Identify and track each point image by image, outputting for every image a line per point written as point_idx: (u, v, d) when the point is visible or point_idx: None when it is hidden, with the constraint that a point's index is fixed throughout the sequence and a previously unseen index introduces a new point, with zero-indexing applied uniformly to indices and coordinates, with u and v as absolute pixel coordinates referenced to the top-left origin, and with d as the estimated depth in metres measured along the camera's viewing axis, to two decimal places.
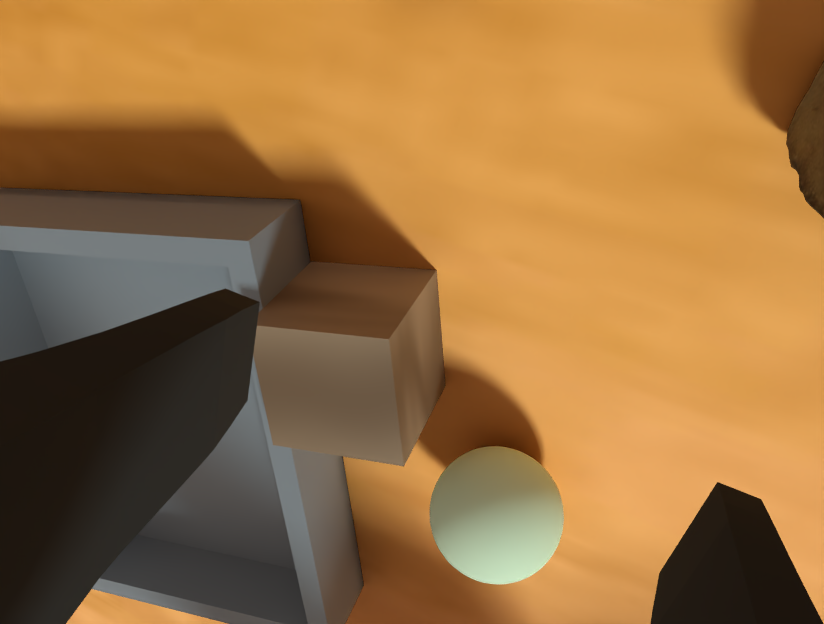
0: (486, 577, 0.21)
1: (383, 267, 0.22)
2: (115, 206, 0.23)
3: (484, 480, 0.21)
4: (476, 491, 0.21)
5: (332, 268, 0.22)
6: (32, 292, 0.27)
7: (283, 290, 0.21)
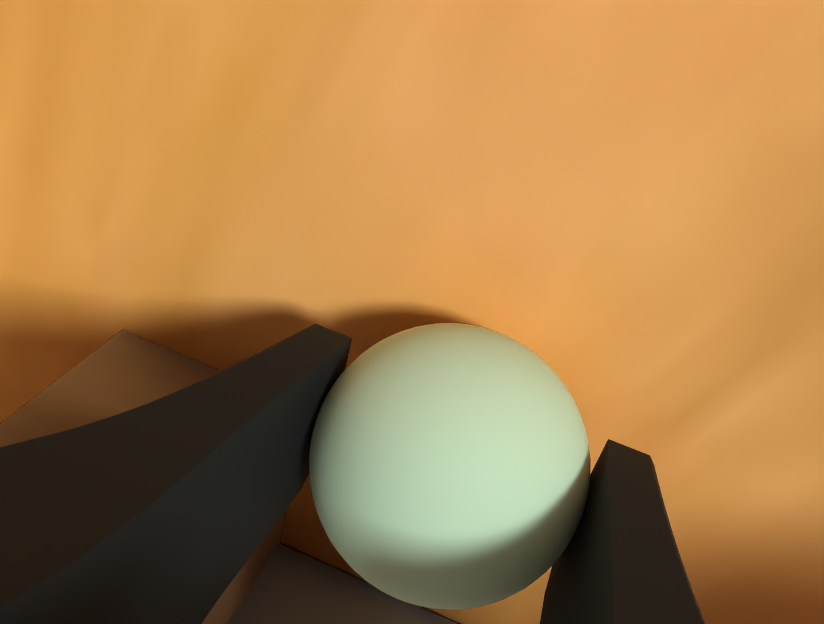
0: (453, 571, 0.09)
1: None
2: None
3: None
4: (309, 472, 0.10)
5: None
6: None
7: None
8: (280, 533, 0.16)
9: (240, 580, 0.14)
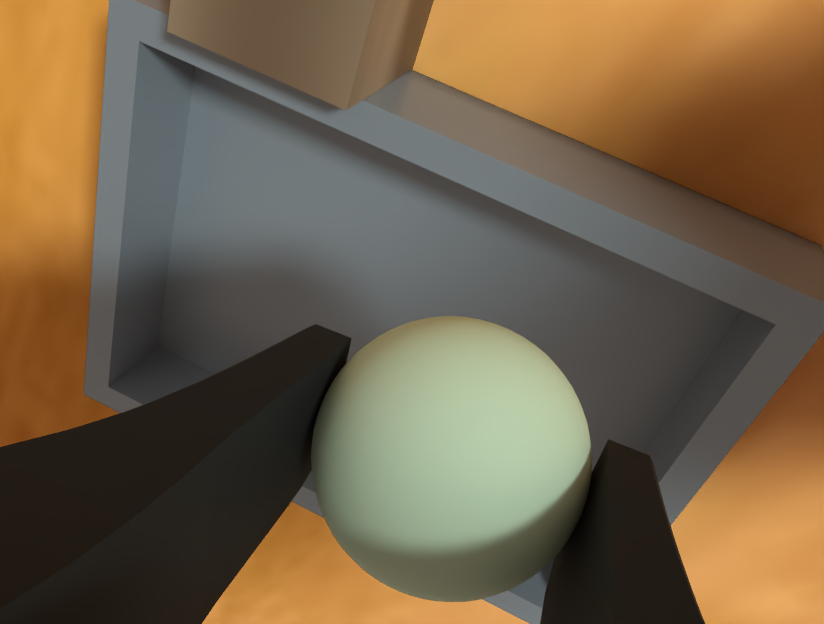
0: (460, 562, 0.09)
1: None
2: None
3: (312, 444, 0.11)
4: (312, 470, 0.10)
5: None
6: None
7: None
8: (416, 53, 0.17)
9: (396, 43, 0.16)
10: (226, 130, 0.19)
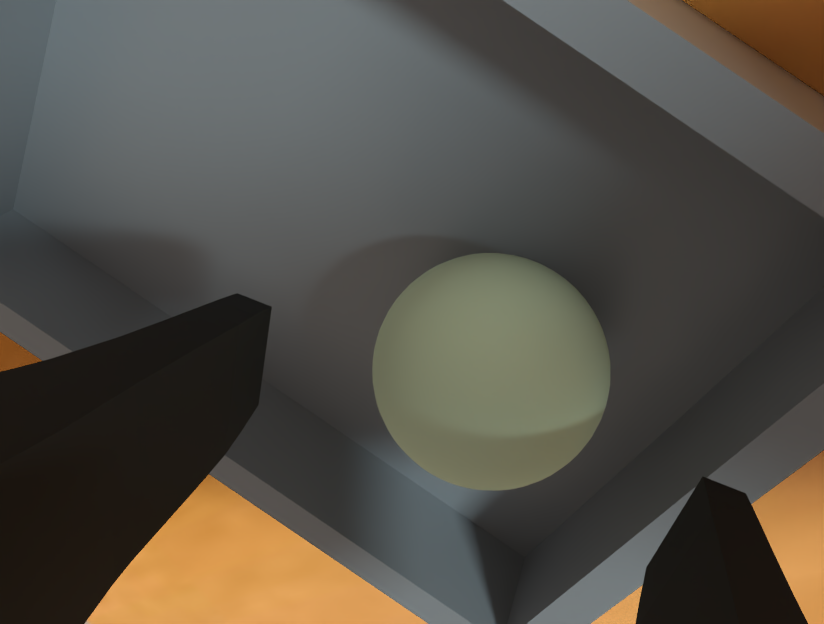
0: (504, 446, 0.11)
1: None
2: None
3: (373, 361, 0.13)
4: (373, 381, 0.12)
5: None
6: (117, 271, 0.17)
7: None
8: None
9: None
10: None
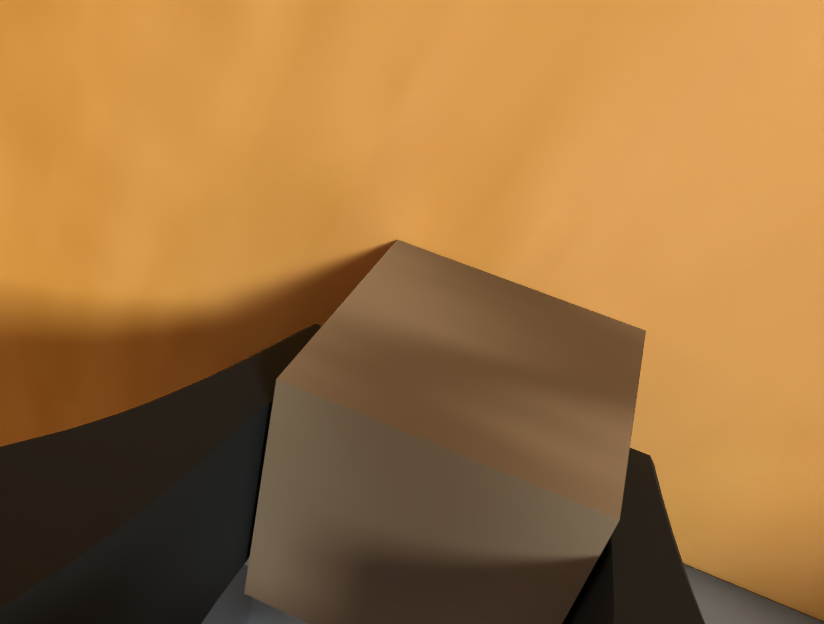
0: None
1: None
2: None
3: None
4: None
5: None
6: None
7: None
8: None
9: None
10: None
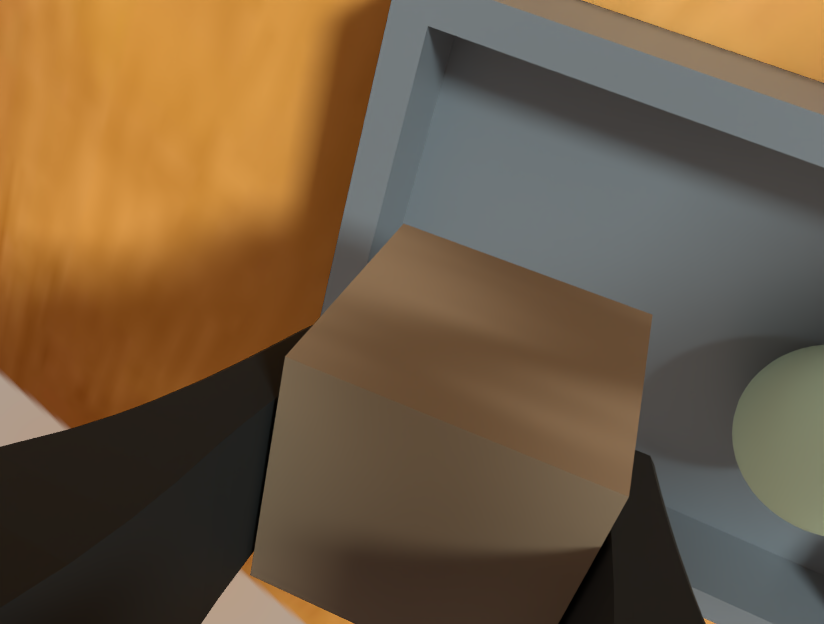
0: None
1: None
2: None
3: (740, 449, 0.16)
4: (747, 465, 0.16)
5: None
6: None
7: None
8: None
9: None
10: (478, 129, 0.17)
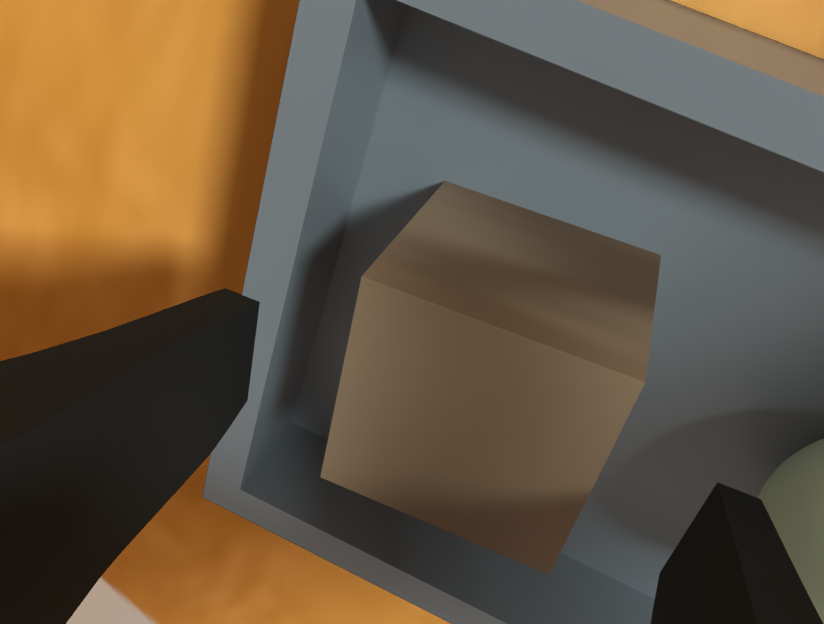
0: None
1: None
2: None
3: None
4: None
5: None
6: None
7: None
8: None
9: None
10: (436, 130, 0.13)
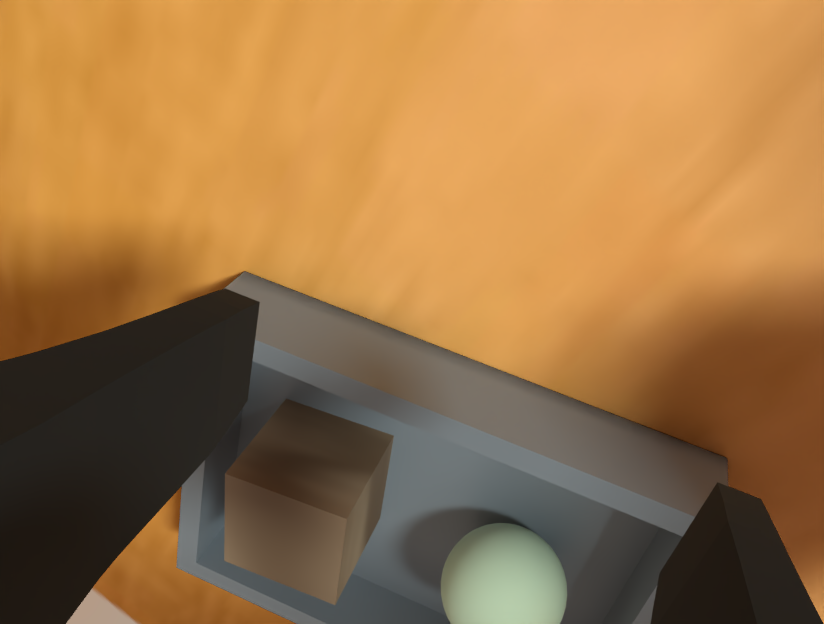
0: None
1: None
2: None
3: (441, 594, 0.24)
4: (443, 606, 0.24)
5: None
6: None
7: None
8: (379, 514, 0.27)
9: (362, 539, 0.25)
10: (277, 375, 0.26)
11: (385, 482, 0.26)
